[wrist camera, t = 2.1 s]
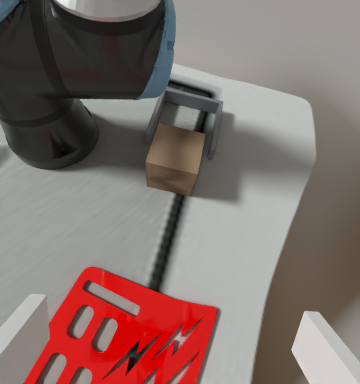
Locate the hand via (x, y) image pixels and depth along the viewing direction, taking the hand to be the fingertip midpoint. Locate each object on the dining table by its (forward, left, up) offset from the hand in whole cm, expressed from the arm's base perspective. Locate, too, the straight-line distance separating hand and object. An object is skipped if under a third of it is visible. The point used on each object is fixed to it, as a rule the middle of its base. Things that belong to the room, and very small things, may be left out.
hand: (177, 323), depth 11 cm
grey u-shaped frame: (-3, +34, -22) cm, 40 cm away
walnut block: (-3, +22, -22) cm, 31 cm away
